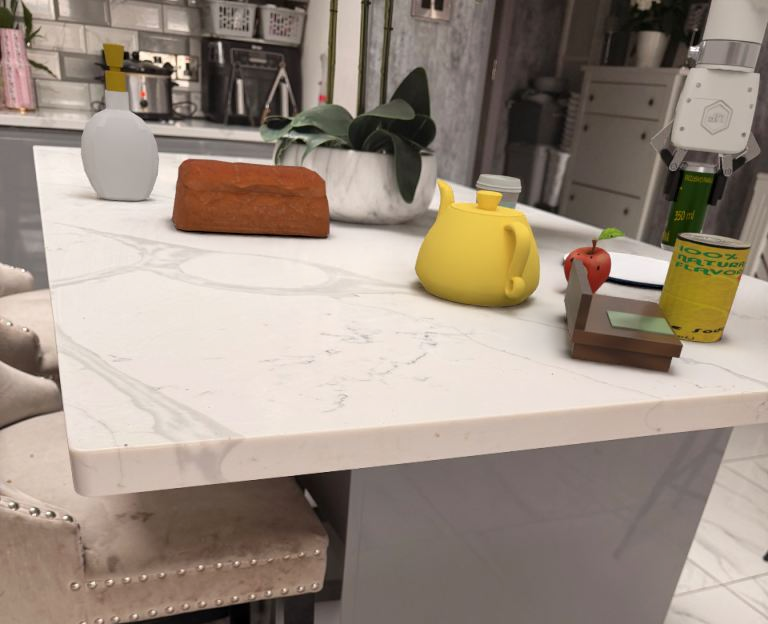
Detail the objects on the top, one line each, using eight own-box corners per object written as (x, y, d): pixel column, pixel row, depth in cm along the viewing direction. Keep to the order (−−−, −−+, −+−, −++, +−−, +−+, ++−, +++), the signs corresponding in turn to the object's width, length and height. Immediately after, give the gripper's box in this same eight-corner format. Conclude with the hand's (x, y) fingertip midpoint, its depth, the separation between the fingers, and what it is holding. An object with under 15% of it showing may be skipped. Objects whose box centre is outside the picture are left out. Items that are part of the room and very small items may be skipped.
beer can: (692, 249, 117) (715, 163, 111) (699, 255, 112) (724, 166, 106) (656, 245, 117) (677, 160, 112) (662, 251, 113) (684, 162, 107)
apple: (575, 300, 112) (591, 230, 108) (550, 288, 118) (564, 220, 113) (617, 300, 115) (634, 231, 110) (590, 289, 121) (606, 222, 116)
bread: (169, 216, 138) (167, 152, 133) (313, 223, 147) (316, 163, 141) (178, 234, 125) (176, 163, 120) (334, 240, 134) (339, 175, 129)
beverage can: (727, 346, 99) (759, 250, 93) (657, 335, 100) (684, 240, 94) (713, 327, 107) (741, 238, 101) (648, 318, 108) (672, 229, 102)
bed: (649, 328, 103) (665, 271, 99) (674, 375, 86) (694, 309, 82) (560, 315, 104) (573, 259, 100) (566, 359, 87) (582, 293, 83)
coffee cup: (510, 252, 142) (523, 182, 136) (465, 245, 143) (475, 176, 137) (512, 244, 149) (523, 178, 143) (468, 238, 150) (478, 172, 144)
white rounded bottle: (154, 196, 156) (147, 47, 143) (165, 203, 149) (159, 48, 136) (80, 193, 149) (66, 38, 136) (88, 201, 143) (74, 39, 130)
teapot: (379, 269, 117) (388, 173, 110) (476, 270, 125) (490, 179, 118) (461, 316, 98) (478, 203, 91) (570, 313, 105) (594, 208, 99)
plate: (544, 269, 130) (545, 262, 129) (581, 251, 150) (583, 244, 149) (694, 300, 121) (696, 292, 120) (713, 276, 141) (715, 269, 140)
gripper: (666, 52, 100) (633, 199, 109) (801, 63, 99) (757, 212, 107) (658, 55, 107) (627, 193, 116) (784, 66, 105) (744, 206, 114)
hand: (690, 201), depth 111 cm, fingers closed on beer can, 5 cm apart
